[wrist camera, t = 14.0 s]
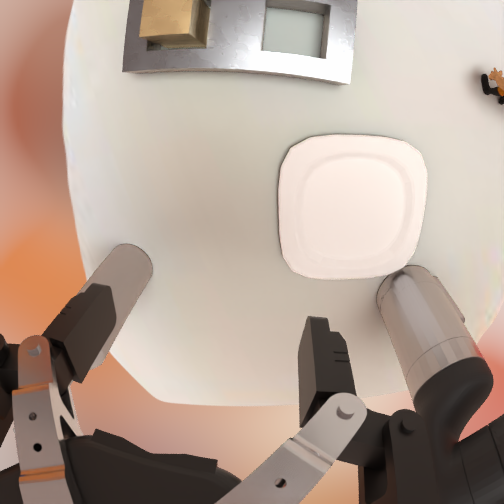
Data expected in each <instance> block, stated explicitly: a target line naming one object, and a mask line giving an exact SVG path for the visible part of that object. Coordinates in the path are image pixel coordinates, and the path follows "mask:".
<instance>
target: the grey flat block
mask: <svg viewBox="0 0 504 504" xmlns="http://www.w3.org/2000/svg"><path fill="white" fill-rule="evenodd" d="M203 1H204V2H205V3H206V5H207V6H209V5H211V9H210V17H209V26H208V36H207V46H206V49H172V50H160V49H161V45H159V44H156V43H154V42H151V41H149V40H146V39H143V38H140V37H139V34H140V25H141V17H142V10H143V3H144V0H130V4H129V11H128V18H127V26H126V35H125V45H124V56H123V70H122V72H127V73H152V72H173V71H220V72H242V73H256V74H267V75H277V76H286V77H294V78H301V79H308V80H314V81H320V82H326V83H332V84H337V85H346V84H350V79H351V70H352V61H353V51H354V40H355V28H356V14H357V0H203ZM267 7H270V8H281V9H289V10H297V11H304V12H311V13H317V14H323V15H324V21H323V32H322V43H321V53H320V58H315V57H309V56H302V55H295V54H287V53H278V52H268V51H262V49H263V39H264V29H265V19H266V9H267Z"/></svg>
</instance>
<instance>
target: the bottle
mask: <svg viewBox="0 0 504 504" xmlns="http://www.w3.org/2000/svg"><path fill="white" fill-rule="evenodd" d="M152 271H153V268H152V263H151V261H150V259H149V257H148V256H147V254H146V253H145V252H144V251H143V250H142V249H140V248H139V247H136V246H134V245H131V244H121V245H118V246H117V247H116V248H114V249H113V251H112V252H111V253H110V254H109V255H108V256H107V258H106V259H105V260H104V261H103V262H102V263H101V265H100V266H99V267H98V268H97V270H96V271H95V272H94V273H93V274H92V276H91V277H90V278H89V280H88V281H87V282H86V283H85V285H84V286H83V287H82V289H81V290H80V291H79V292H78V294H79V293H81V292H85V291H86V289H87V288H88V287H89V286H90V285H91V284H92V283H98V284H103V285H108V286H110V287H111V290H112V295H113V300H114V305H115V310H116V316H117V319H116V325H115V327H114V329H113V331H112V333H111V334H110V336H109V337H108V339H107V341H106V342H105V344H104V346H103V347H102V349H101V351H100V352H99V354H98V356H97V358H96V359H95V361H94V363H93V364H92V366H91V368H90V370H91V369H94V368H96V367H98V366H100V365H101V364H102V363H103V361H104V359H105V357H106V355H107V354H108V352H109V350H110V348H111V346H112V344H113V342H114V341H115V339H116V337H117V335H118V333H119V331H120V330H121V328H122V326H123V324H124V322H125V321H126V319H127V317H128V315H129V314H130V312H131V310H132V308H133V307H134V305H135V303H136V301H137V300H138V298H139V296H140V295H141V293H142V291H143V289H144V288H145V286H146V284H147V283H148V281H149V279H150V277H151V276H152ZM78 294H77V295H78ZM72 382H73V380H72V381H71V382H70V384H69V386H70V385H71V384H72ZM13 431H14V433H15V429H14V428H13Z"/></svg>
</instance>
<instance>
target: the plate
mask: <svg viewBox="0 0 504 504" xmlns="http://www.w3.org/2000/svg"><path fill="white" fill-rule="evenodd" d="M426 196H427V169H426V166H425V163H424V160H423V157H422V155H421V152H419V151H418V150H417V149H415V148H414V147H413V146H411V145H410V144H408V143H407V142H405V141H401V140H397V139H392V138H388V137H381V136H368V135H344V134H333V135H324V136H316V137H309V138H307V139H306V140H304V141H302V142H300V143H298V144H296V145H294V146H293V147H291V148H290V150H289V152H288V154H287V155H286V157H285V159H284V161H283V163H282V165H281V169H280V179H279V188H278V206H279V236H280V243H281V249H282V255H283V258H284V259H285V261H286V263H287V264H288V266H289V267H290V269H291V270H292V271H293V272H295V273H298V274H300V275H302V276H305V277H307V278H314V279H328V280H331V279H359V278H372V277H378V276H384V275H389V274H391V273H393V272H395V271H397V270H399V269H401V268H403V267H404V266H405V265H406V264H407V262H408V261H409V260H410V258H411V257H412V256H413V254H414V252H415V249H416V246H417V243H418V240H419V237H420V233H421V228H422V223H423V217H424V211H425V204H426Z"/></svg>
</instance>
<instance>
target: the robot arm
mask: <svg viewBox="0 0 504 504" xmlns="http://www.w3.org/2000/svg"><path fill="white" fill-rule="evenodd" d="M377 305H378V308H379V310H380V313H381V315H382V318H383V320H384V323H385V325H386V328H387V331H388V333H389V336H390V338H391V341H392V344H393V346H394V349H395V352H396V354H397V357H398V360H399V363H400V365H401V368H402V371H403V374H404V377H405V380H406V383H407V385H408V388H409V391H410V394H411V397H412V401H413V404H414V407H415V410H416V412H414V411H412V410H407V409H402V410H398V411H396V412H395V413H394V414H393V415H392V416H388V415H385V414H381V413H377V412H374V411H371V410H369V409H367V408H366V406H365V404H364V403H363V401H362V400H361V399H360V398H358V397H357V395H356V391H355V385H354V380H353V375H352V369H351V364H350V363H349V362H350V359H349V355H348V350H347V345H346V341H345V340H344V339H343V337H342V336H341V335H340V333H339V332H331V331H330V328H329V323H328V319H327V318H322V317H312V316H308V317H307V320H306V324H305V327H304V331H303V335H302V338H301V342H300V345H299V351H298V375H299V407H300V408H299V411H300V413H299V414H300V427H301V428H302V429H301V430H300V431H299V433H297V435H296V436H294V437H293V438H289V439H288V440H287V441H286V442H285V443H283V444H282V445H281V446H280V447H279V448H278V449H277V450H276V451H275V452H274V453H273V454H272V455H271V456H270V457H269V458H268V459H267V460H265V462H263V463H262V464H261V465H260V466H259V467H258V468H257V469H256V470H254V471H253V472H252V473H251V474H250V475H249V476H248V477H247V478H245V479H244V480H243V481H241V480H240V479H239V478H237V477H236V476H235V475H233V474H231V473H230V472H228V471H226V470H224V469H221V468H219V467H217V461H218V460H215V459H208V458H203V457H198V456H193V455H187V454H153V453H149V452H147V451H145V450H143V449H141V448H140V447H138V446H136V445H134V444H133V443H131V442H129V441H127V440H126V439H124V438H122V437H119V436H116V435H113V434H110V433H107V432H104V431H101V430H98V429H95V432H94V434H93V435H83V433H82V431H81V429H80V426H79V423H78V419H77V415H76V411H75V407H74V402H73V398H72V393H71V389H70V386H69V384H70V382H71V381H72V380H73V381H76V382H78V383H82V382H83V380H84V378H85V377H86V375H87V373H88V371H89V370H90V368H91V366H92V364H93V363H94V361H95V359H96V358H97V356H98V354H99V352H100V351H101V349H102V347H103V346H104V344H105V342H106V341H107V339H108V337H109V336H110V334H111V333H112V331H113V329H114V327H115V325H116V319H117V316H116V310H115V305H114V300H113V295H112V290H111V287H110V286H108V285H103V284H98V283H92V284H91V285H90V286H89V287H88V288H87V289H86V291H85V292H81V293H79V294H78V295H76V296H74V297H73V298H71V300H70V301H69V302H68V303H67V304H66V306H65V307H64V308H63V309H62V311H61V312H60V314H58V315H57V317H56V318H55V319H54V320H53V321H52V323H51V324H50V325H49V326H48V328H47V329H46V330H45V331H44V333H43V334H42V335H41V336H40V335H34V336H30V337H28V338H26V339H25V340H24V341H23V342H22V343H21V344H7V343H6V341H5V339H4V337H3V336H2V335H1V334H0V447H1V445H2V443H3V441H4V438H5V436H6V434H7V432H8V430H9V428H10V426H11V424H12V422H13V420H14V429H15V438H16V445H17V451H18V458H19V463H18V464H16V465H13V466H11V467H9V468H7V469H4V470H2V471H0V504H299V503H300V502H301V501H302V500H303V499H304V498H305V496H306V495H307V494H308V493H309V492H310V491H311V490H312V489H313V488H314V486H315V485H316V484H317V483H318V482H319V480H320V479H321V478H322V477H323V476H324V474H325V473H326V472H327V471H328V469H329V468H330V467H331V466H332V464H333V463H334V461H335V460H339V461H343V462H347V463H351V464H355V465H358V480H359V504H504V414H503V415H502V416H500V417H499V418H497V419H496V420H494V421H492V422H491V423H489V424H488V425H489V426H488V425H486V426H485V427H483V428H481V429H480V430H478V431H476V432H475V433H473V434H472V435H470V436H468V437H466V438H465V439H463V440H461V441H459V442H458V440H459V437H460V434H461V432H462V430H463V429H464V427H465V426H466V424H467V422H468V421H469V420H470V418H471V417H472V416H473V415H474V413H475V412H476V411H477V410H478V409H479V408H480V406H481V405H482V404H483V403H484V402H485V400H486V399H487V397H488V396H489V394H490V392H491V390H492V387H493V375H492V373H491V370H490V369H489V367H488V365H487V363H486V361H485V359H484V358H483V356H482V354H481V353H480V351H479V349H478V347H477V345H476V343H475V342H474V340H473V338H472V337H471V335H470V333H469V332H468V330H467V328H466V327H465V325H464V322H465V318H464V316H463V314H462V313H461V311H460V310H459V308H458V307H457V305H456V304H455V302H454V301H453V299H452V298H451V296H450V295H449V293H448V292H447V290H446V289H445V288H444V286H443V285H442V283H441V282H440V281H439V279H438V278H437V277H433V276H432V275H431V274H430V273H429V271H428V270H426V269H425V268H423V267H420V266H407V267H403V268H401V269H399V270H397V271H395V272H394V273H392V274H391V275H389V276H388V277H387V278H386V279H385V281H384V282H383V283H382V285H381V286H380V288H379V291H378V294H377Z"/></svg>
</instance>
